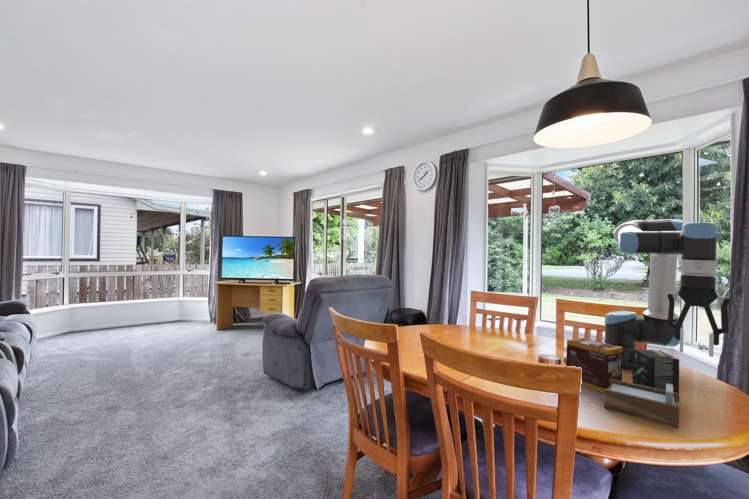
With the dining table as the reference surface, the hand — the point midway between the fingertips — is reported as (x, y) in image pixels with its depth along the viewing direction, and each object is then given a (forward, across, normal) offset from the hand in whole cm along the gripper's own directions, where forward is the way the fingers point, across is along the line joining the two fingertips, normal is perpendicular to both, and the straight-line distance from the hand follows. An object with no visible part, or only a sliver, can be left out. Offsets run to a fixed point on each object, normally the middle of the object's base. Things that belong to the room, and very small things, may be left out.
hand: (695, 353), depth 101 cm
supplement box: (+21, -28, +15) cm, 38 cm away
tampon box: (+21, -10, +19) cm, 30 cm away
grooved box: (+21, -12, 0) cm, 24 cm away
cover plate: (+17, -12, 0) cm, 21 cm away
